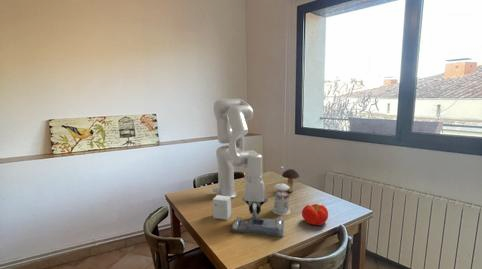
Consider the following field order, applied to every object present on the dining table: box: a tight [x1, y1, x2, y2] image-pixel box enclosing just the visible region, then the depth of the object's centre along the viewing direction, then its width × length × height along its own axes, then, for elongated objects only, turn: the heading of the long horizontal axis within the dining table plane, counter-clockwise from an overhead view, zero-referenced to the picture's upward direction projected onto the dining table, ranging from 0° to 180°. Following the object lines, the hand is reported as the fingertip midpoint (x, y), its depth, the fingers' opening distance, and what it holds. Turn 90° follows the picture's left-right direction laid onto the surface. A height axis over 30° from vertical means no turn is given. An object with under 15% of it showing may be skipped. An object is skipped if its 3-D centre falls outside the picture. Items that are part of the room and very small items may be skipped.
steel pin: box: [251, 202, 259, 218], centre depth 137 cm, size 3×3×10 cm
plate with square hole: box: [230, 216, 285, 238], centre depth 126 cm, size 24×9×5 cm, turn 79°
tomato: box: [301, 203, 329, 226], centre depth 132 cm, size 13×12×8 cm
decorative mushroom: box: [281, 168, 300, 193], centre depth 172 cm, size 11×11×15 cm
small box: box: [212, 195, 232, 221], centre depth 139 cm, size 8×6×10 cm
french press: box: [271, 166, 291, 216], centre depth 145 cm, size 10×12×25 cm
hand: (254, 212), depth 137 cm, fingers closed on steel pin, 3 cm apart
